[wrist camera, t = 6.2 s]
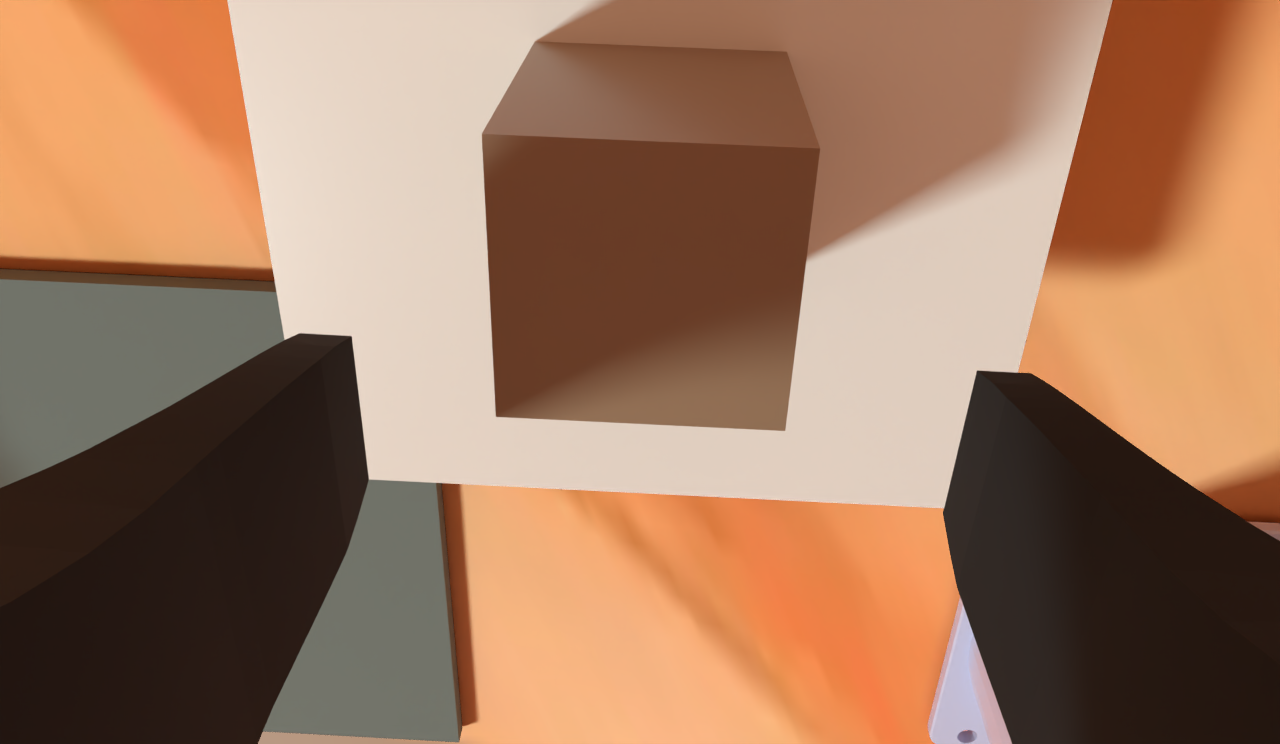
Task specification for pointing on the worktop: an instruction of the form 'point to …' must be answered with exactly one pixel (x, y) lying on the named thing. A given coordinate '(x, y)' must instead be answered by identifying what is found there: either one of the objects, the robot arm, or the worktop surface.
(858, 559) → the worktop surface
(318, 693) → the mat
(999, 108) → the lid
